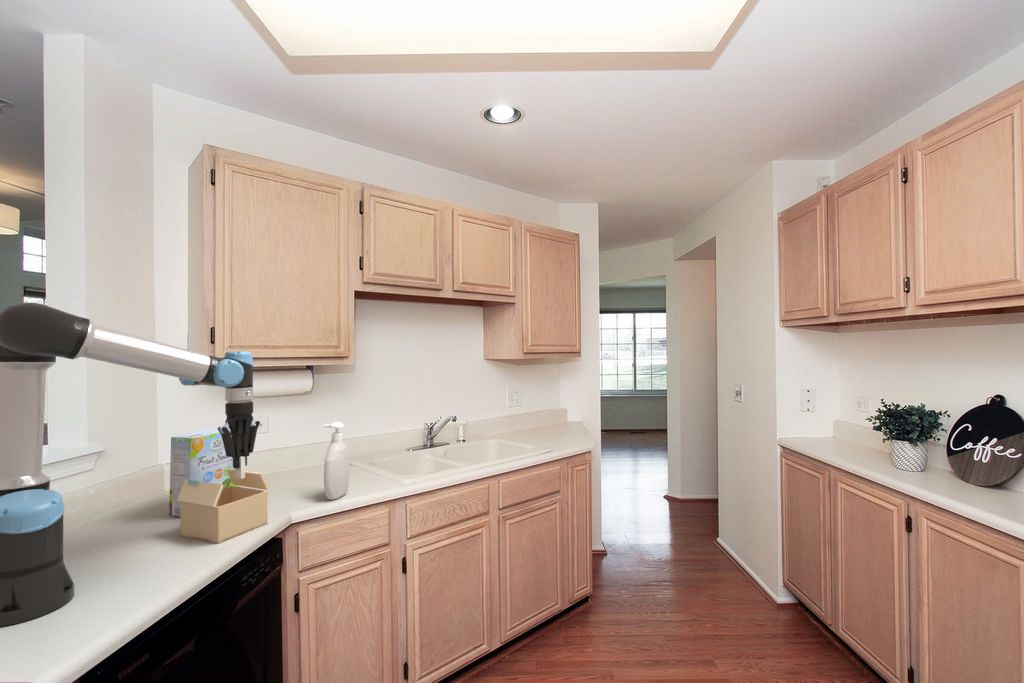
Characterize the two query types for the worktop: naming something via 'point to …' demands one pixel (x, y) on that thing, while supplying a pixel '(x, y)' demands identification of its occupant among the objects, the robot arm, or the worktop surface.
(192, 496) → the flap
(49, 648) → the worktop surface
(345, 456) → the soap bottle
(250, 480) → the flap
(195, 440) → the snack box
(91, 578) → the worktop surface
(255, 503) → the carton
